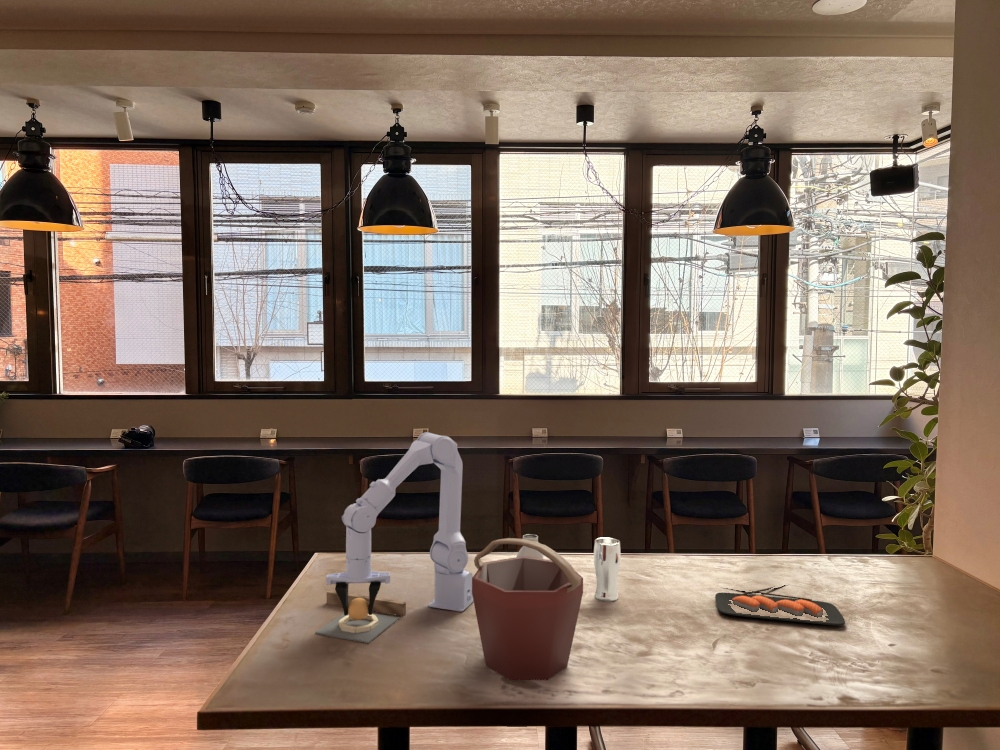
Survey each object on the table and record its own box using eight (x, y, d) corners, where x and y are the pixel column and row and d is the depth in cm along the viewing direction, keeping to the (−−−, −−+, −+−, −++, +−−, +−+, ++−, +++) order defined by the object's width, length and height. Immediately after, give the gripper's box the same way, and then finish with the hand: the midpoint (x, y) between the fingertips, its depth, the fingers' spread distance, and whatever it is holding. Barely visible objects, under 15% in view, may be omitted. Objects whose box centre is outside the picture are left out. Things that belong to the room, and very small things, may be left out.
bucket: (450, 654, 139) (450, 538, 138) (526, 627, 153) (527, 521, 152) (527, 702, 120) (529, 568, 120) (607, 666, 135) (608, 546, 134)
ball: (370, 614, 156) (370, 594, 156) (368, 623, 151) (368, 602, 151) (349, 615, 155) (349, 594, 155) (346, 624, 150) (346, 602, 150)
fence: (405, 614, 160) (405, 602, 160) (403, 616, 159) (403, 604, 159) (329, 602, 168) (329, 590, 168) (326, 603, 166) (326, 592, 166)
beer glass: (618, 593, 176) (619, 537, 175) (621, 602, 169) (621, 545, 168) (592, 591, 176) (593, 536, 176) (593, 601, 169) (594, 544, 169)
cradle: (399, 619, 157) (399, 613, 157) (369, 643, 144) (369, 637, 144) (349, 610, 162) (349, 605, 162) (315, 633, 149) (315, 627, 149)
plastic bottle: (541, 624, 155) (542, 541, 154) (513, 621, 156) (514, 539, 155) (545, 613, 161) (546, 533, 160) (518, 611, 163) (519, 531, 162)
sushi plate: (718, 619, 160) (718, 604, 160) (709, 578, 189) (709, 565, 189) (848, 633, 153) (849, 617, 153) (818, 588, 182) (819, 574, 182)
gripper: (391, 550, 157) (391, 606, 158) (329, 551, 156) (329, 607, 156) (389, 559, 150) (388, 618, 151) (324, 560, 149) (324, 619, 149)
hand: (358, 613), depth 153 cm, fingers closed on ball, 5 cm apart
